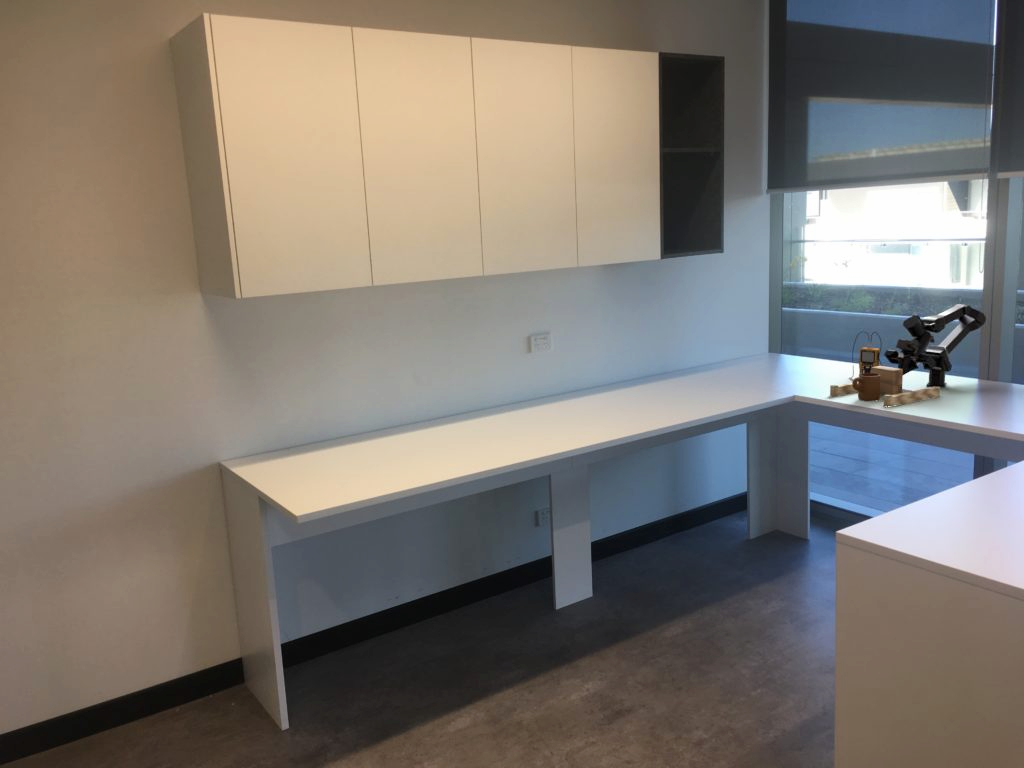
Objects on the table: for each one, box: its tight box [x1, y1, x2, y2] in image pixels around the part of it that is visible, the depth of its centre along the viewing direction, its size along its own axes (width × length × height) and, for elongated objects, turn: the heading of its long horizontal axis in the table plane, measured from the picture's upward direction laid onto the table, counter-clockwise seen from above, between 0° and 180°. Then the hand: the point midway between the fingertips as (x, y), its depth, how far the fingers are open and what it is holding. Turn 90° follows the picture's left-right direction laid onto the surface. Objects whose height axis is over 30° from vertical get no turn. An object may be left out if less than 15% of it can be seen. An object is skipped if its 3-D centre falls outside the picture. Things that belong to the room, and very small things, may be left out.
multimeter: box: [848, 331, 883, 381], centre depth 340 cm, size 15×10×20 cm
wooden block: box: [871, 365, 904, 397], centre depth 312 cm, size 5×10×10 cm, turn 27°
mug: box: [851, 373, 881, 402], centre depth 307 cm, size 12×8×9 cm, turn 115°
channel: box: [829, 382, 941, 408], centre depth 312 cm, size 28×26×4 cm
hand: (898, 376), depth 315 cm, fingers closed
